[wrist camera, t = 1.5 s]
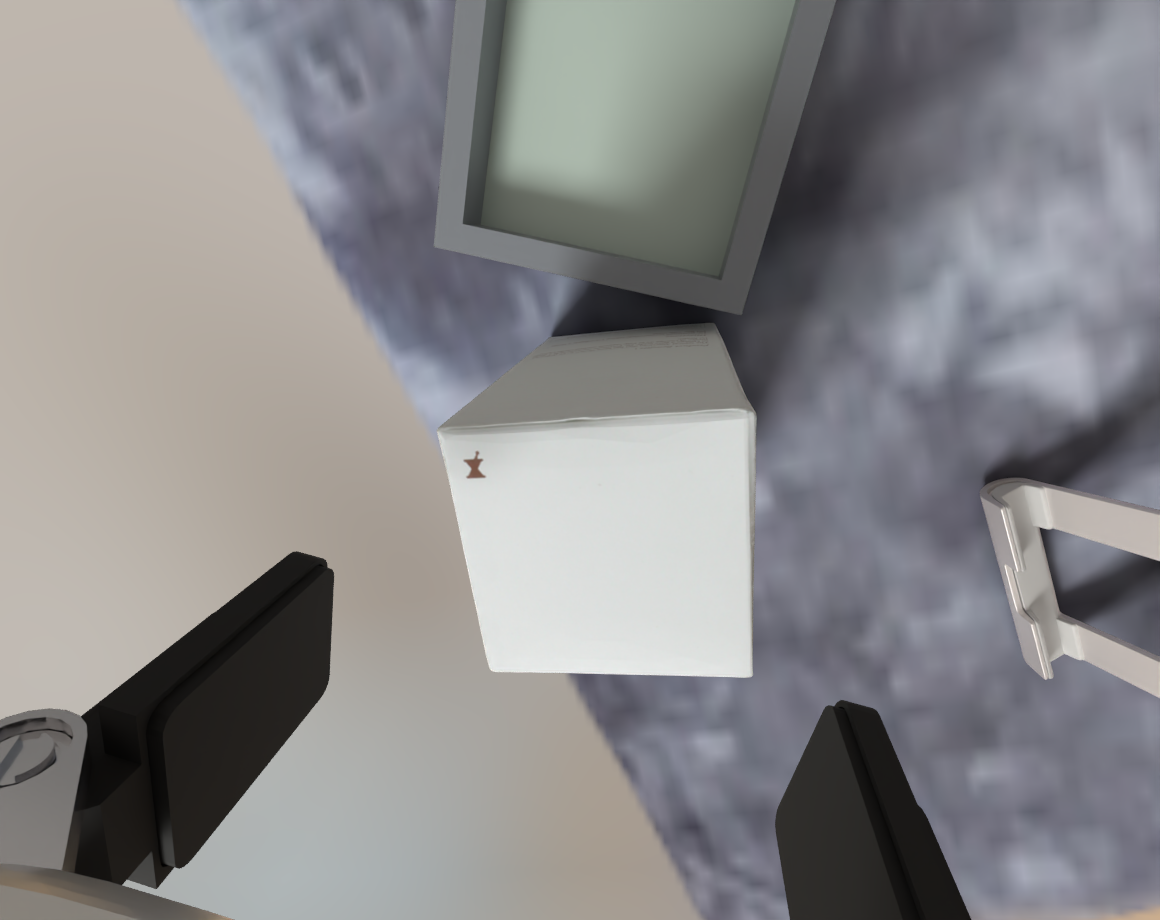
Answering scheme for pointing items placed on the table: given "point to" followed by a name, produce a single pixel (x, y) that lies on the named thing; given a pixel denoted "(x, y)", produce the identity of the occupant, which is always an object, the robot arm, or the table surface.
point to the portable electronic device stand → (1028, 580)
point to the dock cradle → (625, 137)
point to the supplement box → (611, 506)
